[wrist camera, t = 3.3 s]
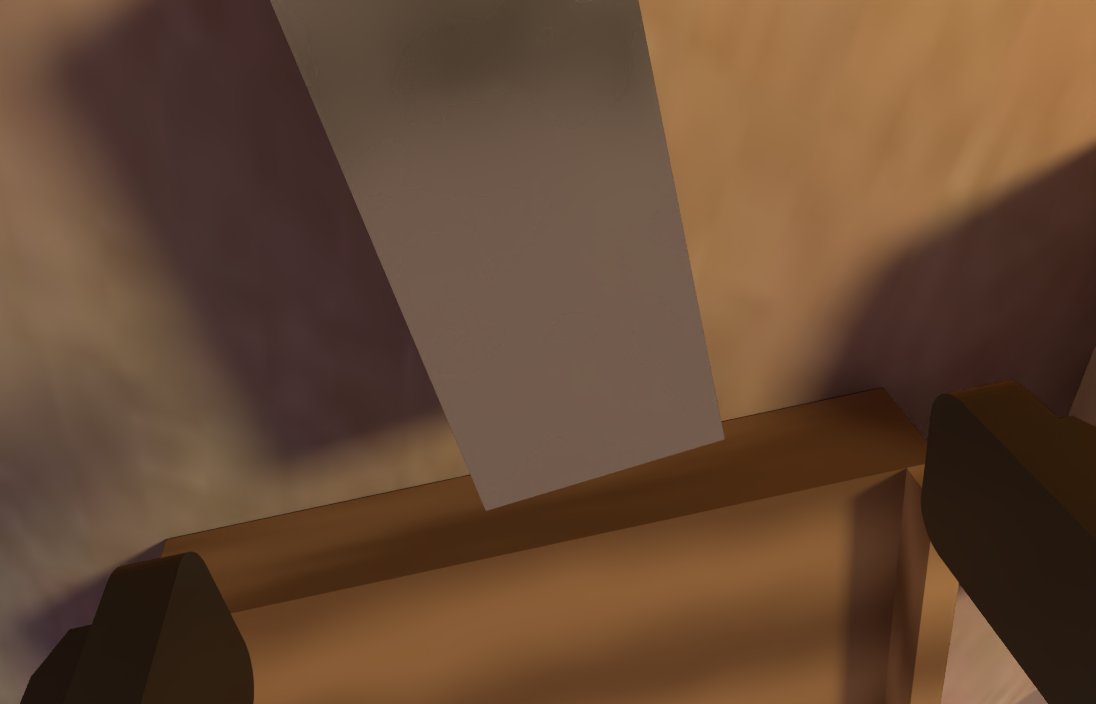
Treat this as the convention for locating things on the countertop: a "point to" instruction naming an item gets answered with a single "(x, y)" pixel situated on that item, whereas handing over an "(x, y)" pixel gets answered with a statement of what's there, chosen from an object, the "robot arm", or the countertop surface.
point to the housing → (520, 224)
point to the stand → (615, 580)
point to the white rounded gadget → (1086, 395)
